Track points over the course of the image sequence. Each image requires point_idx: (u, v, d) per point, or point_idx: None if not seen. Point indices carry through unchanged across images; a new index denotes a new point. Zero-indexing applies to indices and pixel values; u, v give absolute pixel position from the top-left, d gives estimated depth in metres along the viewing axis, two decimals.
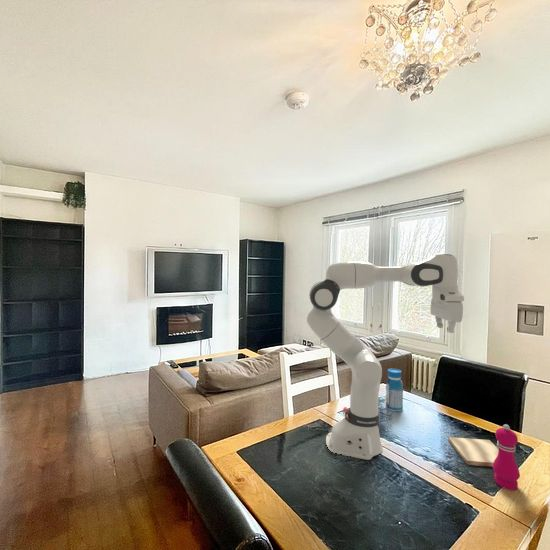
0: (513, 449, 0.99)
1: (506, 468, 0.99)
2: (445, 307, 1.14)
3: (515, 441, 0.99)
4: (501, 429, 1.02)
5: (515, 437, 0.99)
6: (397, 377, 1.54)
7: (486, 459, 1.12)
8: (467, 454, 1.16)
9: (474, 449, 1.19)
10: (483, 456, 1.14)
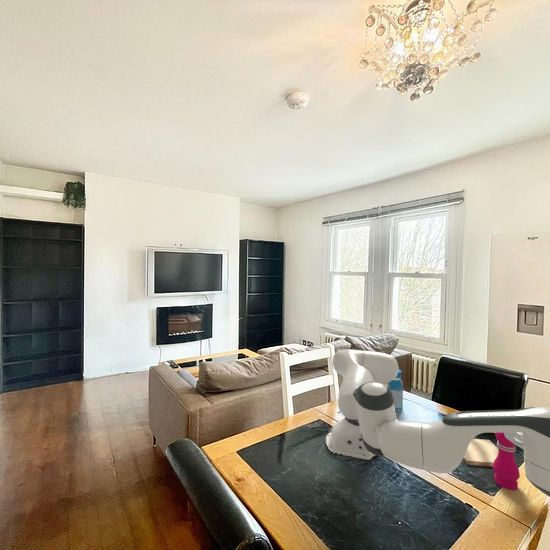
0: (513, 449, 0.99)
1: (506, 468, 0.99)
2: None
3: None
4: None
5: None
6: (397, 377, 1.54)
7: (486, 459, 1.12)
8: (467, 454, 1.16)
9: (474, 449, 1.19)
10: (483, 456, 1.14)
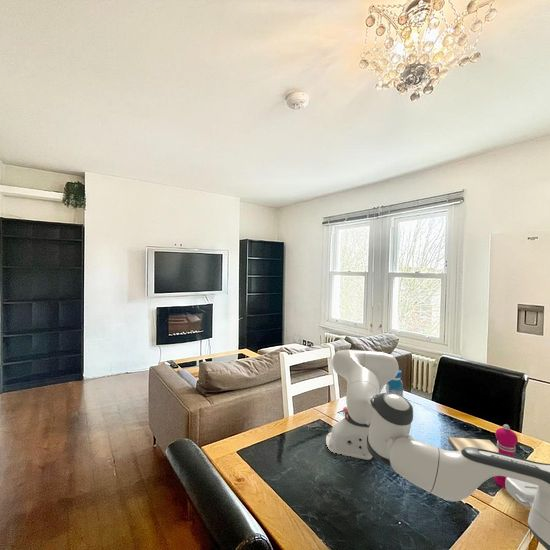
0: (513, 449, 0.99)
1: None
2: None
3: (515, 441, 0.99)
4: (501, 429, 1.02)
5: (515, 437, 0.99)
6: (397, 377, 1.54)
7: None
8: None
9: None
10: None
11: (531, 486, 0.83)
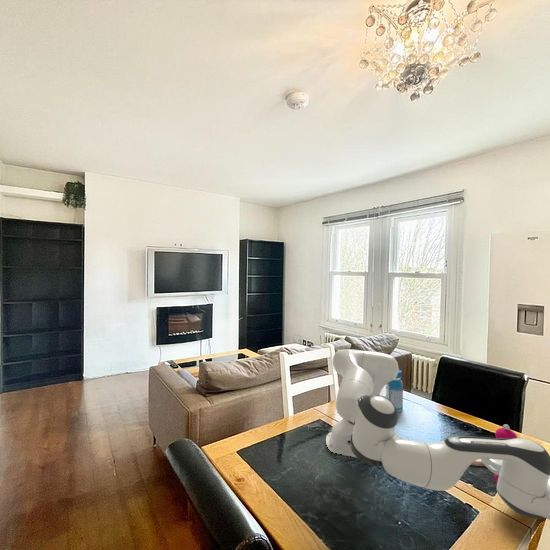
0: None
1: None
2: None
3: None
4: (501, 429, 1.02)
5: (515, 437, 0.99)
6: (397, 377, 1.54)
7: None
8: None
9: None
10: None
11: None
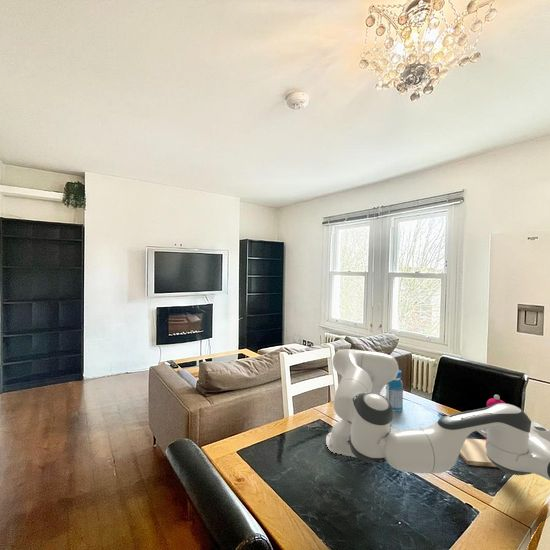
0: None
1: None
2: None
3: None
4: (492, 399, 1.09)
5: None
6: (397, 377, 1.54)
7: (486, 459, 1.12)
8: (467, 454, 1.16)
9: (474, 449, 1.19)
10: (483, 456, 1.14)
11: None
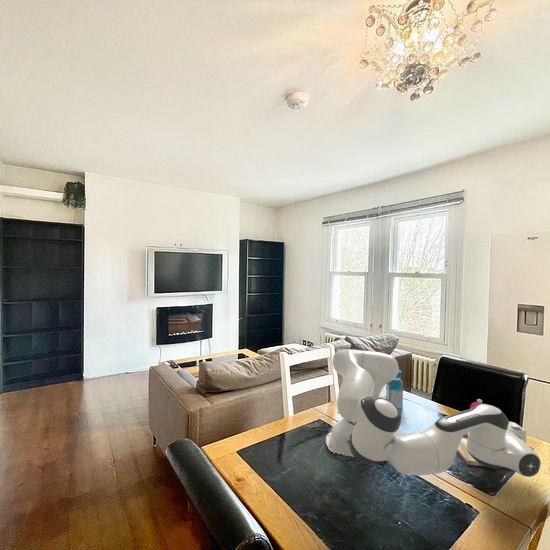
0: None
1: None
2: None
3: None
4: (475, 403, 1.19)
5: None
6: (397, 377, 1.54)
7: None
8: (467, 454, 1.16)
9: None
10: None
11: None
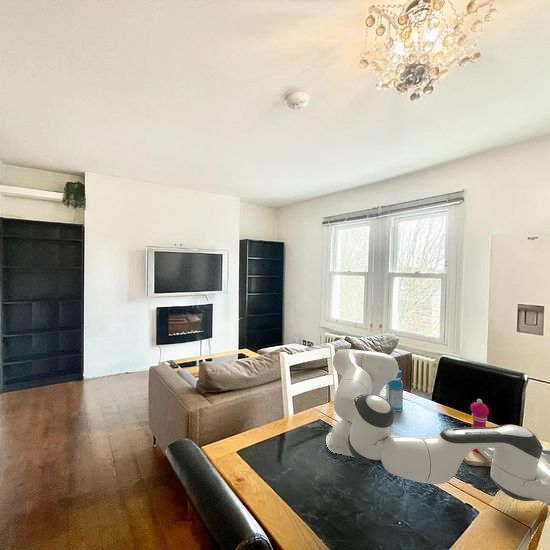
0: (485, 419, 1.16)
1: None
2: None
3: (486, 412, 1.15)
4: (475, 403, 1.19)
5: (486, 409, 1.16)
6: (397, 377, 1.54)
7: (486, 459, 1.12)
8: None
9: None
10: (483, 456, 1.14)
11: None
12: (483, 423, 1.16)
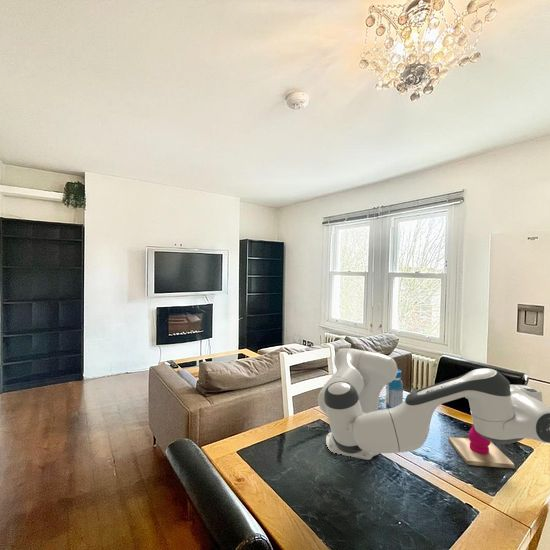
0: None
1: (479, 436, 1.16)
2: None
3: None
4: None
5: None
6: (397, 377, 1.54)
7: (486, 459, 1.12)
8: (467, 454, 1.16)
9: None
10: (483, 456, 1.14)
11: None
12: None
